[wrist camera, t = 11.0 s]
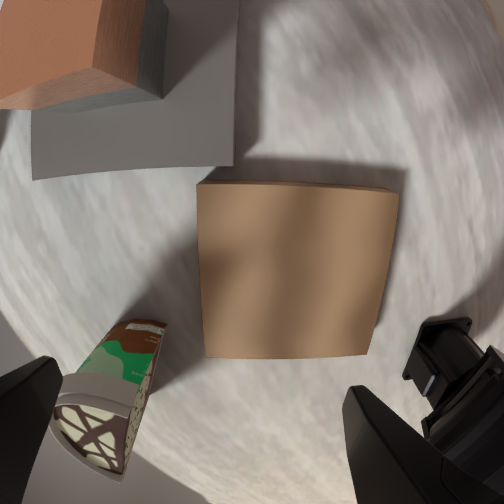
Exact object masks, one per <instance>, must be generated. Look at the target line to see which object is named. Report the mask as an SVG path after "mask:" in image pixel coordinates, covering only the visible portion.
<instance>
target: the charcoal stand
mask: <svg viewBox="0 0 504 504" xmlns="http://www.w3.org/2000/svg"><path fill="white" fill-rule="evenodd" d="M163 2H164V3H165V5H166V6H167V8H168V9H169V19H168V29H167V39H166V51H165V65H164V83H163V100H154V101H145V102H137V103H130V104H123V105H117V106H111V107H105V108H100V109H95V110H90V111H85V112H80V113H76V114H73V113H62V112H51V111H37V110H32V112H31V164H32V180H33V181H34V180H40V179H47V178H54V177H61V176H69V175H77V174H86V173H96V172H106V171H118V170H131V169H146V168H166V167H198V166H233V165H234V164H235V117H236V78H237V46H238V20H239V0H163Z"/></svg>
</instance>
